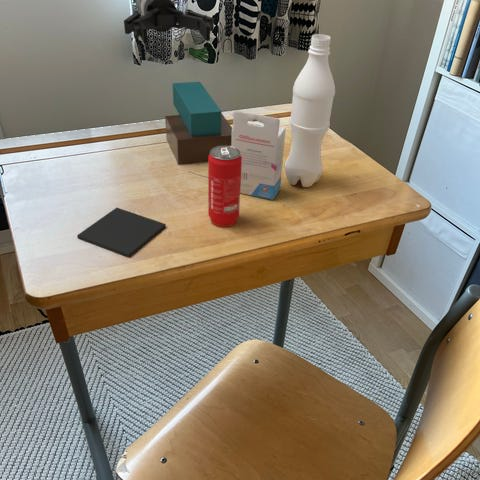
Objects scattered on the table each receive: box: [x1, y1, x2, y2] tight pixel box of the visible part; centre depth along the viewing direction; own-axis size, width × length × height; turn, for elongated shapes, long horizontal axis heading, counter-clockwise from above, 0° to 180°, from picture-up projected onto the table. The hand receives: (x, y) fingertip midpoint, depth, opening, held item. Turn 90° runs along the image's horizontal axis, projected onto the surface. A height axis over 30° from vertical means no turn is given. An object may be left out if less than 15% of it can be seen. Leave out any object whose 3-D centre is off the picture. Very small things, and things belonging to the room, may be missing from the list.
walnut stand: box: [164, 113, 233, 165], centre depth 105 cm, size 12×12×5 cm
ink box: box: [231, 110, 287, 201], centre depth 90 cm, size 8×5×15 cm, turn 70°
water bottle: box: [284, 33, 336, 188], centre depth 90 cm, size 7×7×25 cm
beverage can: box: [207, 146, 242, 228], centre depth 83 cm, size 5×5×12 cm
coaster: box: [76, 207, 167, 258], centre depth 83 cm, size 10×10×1 cm
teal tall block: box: [172, 81, 223, 136], centre depth 105 cm, size 19×6×4 cm, turn 17°
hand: (177, 35), depth 109 cm, fingers open, 13 cm apart
